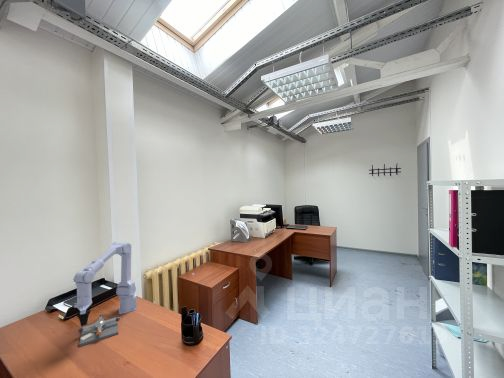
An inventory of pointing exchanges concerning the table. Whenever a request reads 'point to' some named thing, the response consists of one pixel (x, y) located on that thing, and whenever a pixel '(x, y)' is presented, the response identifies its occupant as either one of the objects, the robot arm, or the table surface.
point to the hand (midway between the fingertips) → (84, 321)
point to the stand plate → (93, 337)
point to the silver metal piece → (98, 325)
